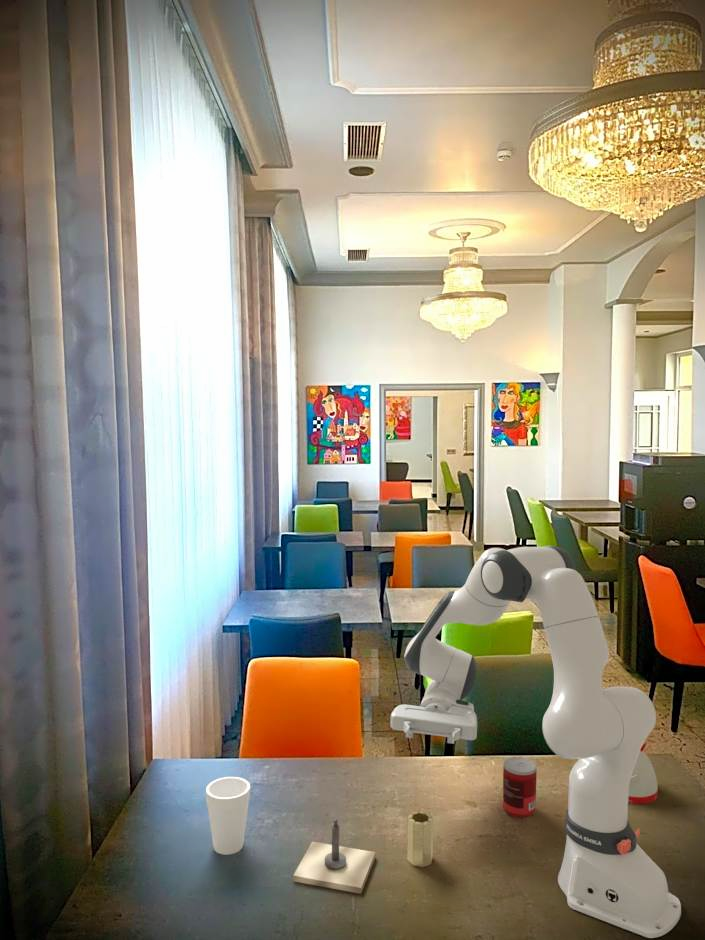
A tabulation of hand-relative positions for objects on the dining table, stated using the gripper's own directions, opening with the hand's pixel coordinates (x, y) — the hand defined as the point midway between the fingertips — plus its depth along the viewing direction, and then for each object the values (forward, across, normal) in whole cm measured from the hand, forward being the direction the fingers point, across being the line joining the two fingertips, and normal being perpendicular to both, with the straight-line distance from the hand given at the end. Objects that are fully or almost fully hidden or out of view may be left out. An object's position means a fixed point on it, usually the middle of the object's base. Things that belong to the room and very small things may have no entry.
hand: (429, 737), depth 158 cm
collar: (+13, 0, +21) cm, 24 cm away
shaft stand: (+21, -16, +21) cm, 33 cm away
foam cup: (+19, -40, +22) cm, 49 cm away
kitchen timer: (-30, +47, +21) cm, 59 cm away
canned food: (-13, +20, +21) cm, 32 cm away
